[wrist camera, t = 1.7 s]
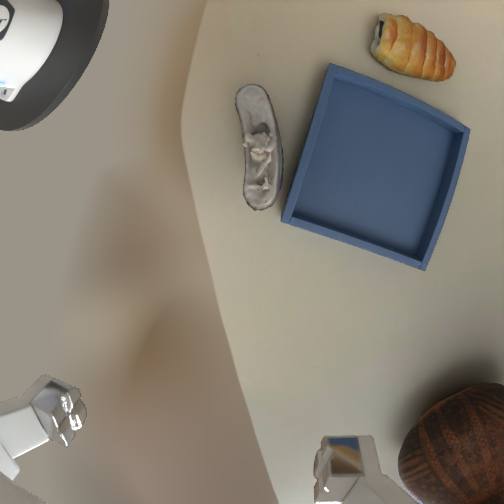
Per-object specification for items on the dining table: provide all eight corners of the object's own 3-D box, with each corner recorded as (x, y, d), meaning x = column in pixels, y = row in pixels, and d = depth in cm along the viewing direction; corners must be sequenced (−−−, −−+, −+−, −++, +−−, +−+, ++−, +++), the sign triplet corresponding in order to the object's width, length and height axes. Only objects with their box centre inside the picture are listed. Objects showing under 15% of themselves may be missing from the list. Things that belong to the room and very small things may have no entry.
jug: (365, 455, 39) (383, 610, 11) (439, 357, 33) (533, 545, 4) (453, 455, 39) (490, 570, 10) (520, 371, 32) (598, 488, 4)
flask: (247, 106, 27) (228, 78, 17) (278, 103, 27) (274, 73, 17) (256, 198, 30) (241, 218, 20) (286, 196, 29) (287, 215, 19)
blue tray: (280, 216, 30) (280, 221, 28) (326, 70, 25) (329, 62, 23) (415, 263, 30) (424, 271, 27) (458, 130, 25) (471, 129, 23)
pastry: (450, 48, 22) (466, 39, 19) (445, 98, 24) (462, 92, 21) (374, 15, 22) (384, 0, 19) (366, 64, 25) (375, 53, 21)
